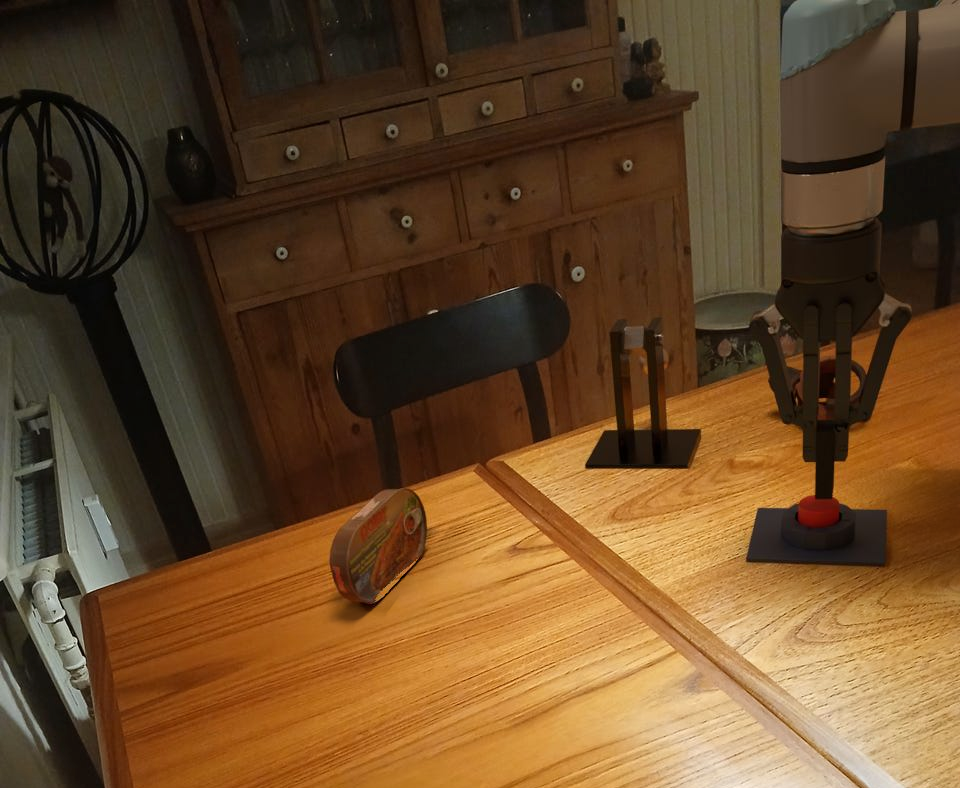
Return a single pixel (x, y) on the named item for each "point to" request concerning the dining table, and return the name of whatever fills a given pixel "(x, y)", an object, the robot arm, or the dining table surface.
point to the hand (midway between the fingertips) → (824, 492)
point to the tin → (378, 544)
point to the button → (818, 512)
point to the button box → (819, 538)
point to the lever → (639, 346)
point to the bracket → (659, 442)
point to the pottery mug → (825, 385)
